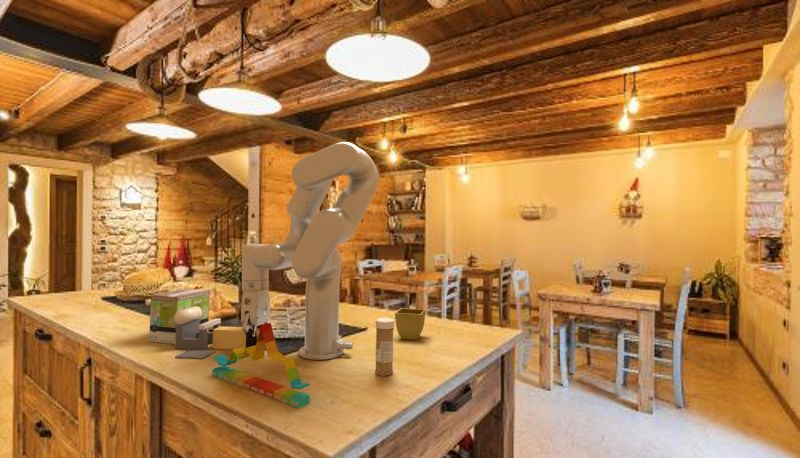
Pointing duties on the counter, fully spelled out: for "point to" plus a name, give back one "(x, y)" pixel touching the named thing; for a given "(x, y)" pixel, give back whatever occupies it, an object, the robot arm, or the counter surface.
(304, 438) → the counter surface
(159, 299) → the tea box
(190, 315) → the dispenser
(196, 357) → the mat
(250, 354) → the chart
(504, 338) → the counter surface
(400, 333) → the flower pot
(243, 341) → the tan wooden block
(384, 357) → the sprinkles bottle
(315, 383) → the counter surface
